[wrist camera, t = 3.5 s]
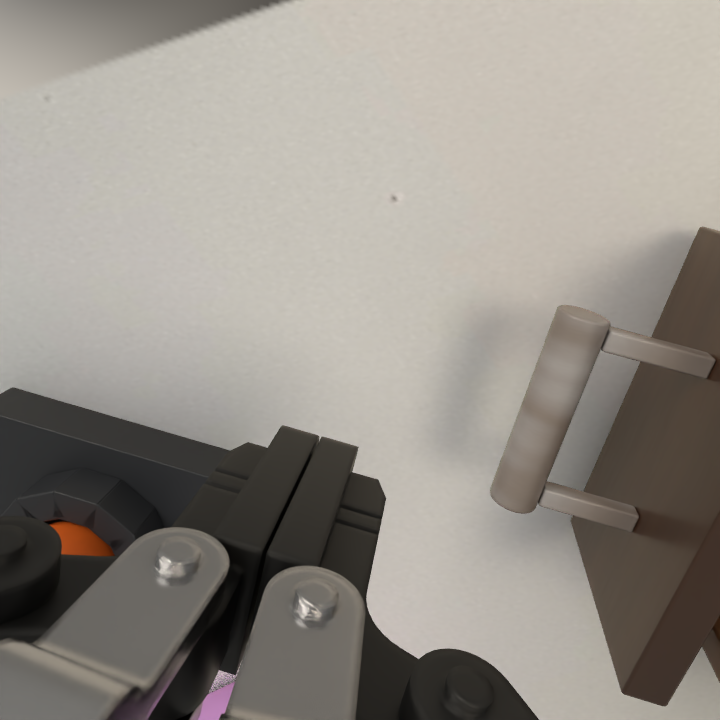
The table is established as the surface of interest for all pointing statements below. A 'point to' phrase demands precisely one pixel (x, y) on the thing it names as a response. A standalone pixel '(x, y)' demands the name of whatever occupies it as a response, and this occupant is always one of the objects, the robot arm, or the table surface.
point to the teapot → (216, 703)
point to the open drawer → (638, 476)
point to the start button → (80, 540)
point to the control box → (95, 469)
